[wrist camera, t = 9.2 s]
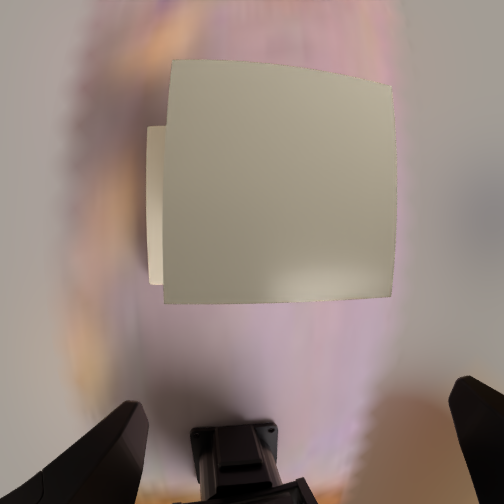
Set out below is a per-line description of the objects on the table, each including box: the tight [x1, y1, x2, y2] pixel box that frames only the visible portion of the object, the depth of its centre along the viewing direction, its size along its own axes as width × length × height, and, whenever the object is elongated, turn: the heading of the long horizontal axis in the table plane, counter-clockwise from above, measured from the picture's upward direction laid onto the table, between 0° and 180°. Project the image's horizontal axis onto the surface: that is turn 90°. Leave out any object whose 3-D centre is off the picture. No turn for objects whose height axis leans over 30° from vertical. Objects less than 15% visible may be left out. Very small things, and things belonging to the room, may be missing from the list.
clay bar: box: [162, 60, 397, 304], centre depth 11 cm, size 4×4×13 cm
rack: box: [146, 126, 166, 285], centre depth 17 cm, size 9×9×4 cm
